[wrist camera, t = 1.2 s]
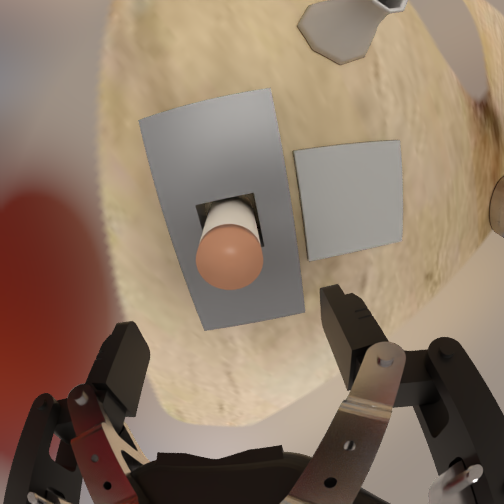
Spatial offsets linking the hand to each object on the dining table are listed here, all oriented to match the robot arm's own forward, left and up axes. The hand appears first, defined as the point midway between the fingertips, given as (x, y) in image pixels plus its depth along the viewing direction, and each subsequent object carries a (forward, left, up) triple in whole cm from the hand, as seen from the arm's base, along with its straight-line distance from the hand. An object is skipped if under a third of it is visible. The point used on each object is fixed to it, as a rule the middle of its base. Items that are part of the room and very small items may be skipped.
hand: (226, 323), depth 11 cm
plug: (0, 0, -16) cm, 16 cm away
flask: (-13, -16, -16) cm, 26 cm away
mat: (-12, +1, -16) cm, 20 cm away
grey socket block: (0, 0, -16) cm, 16 cm away
